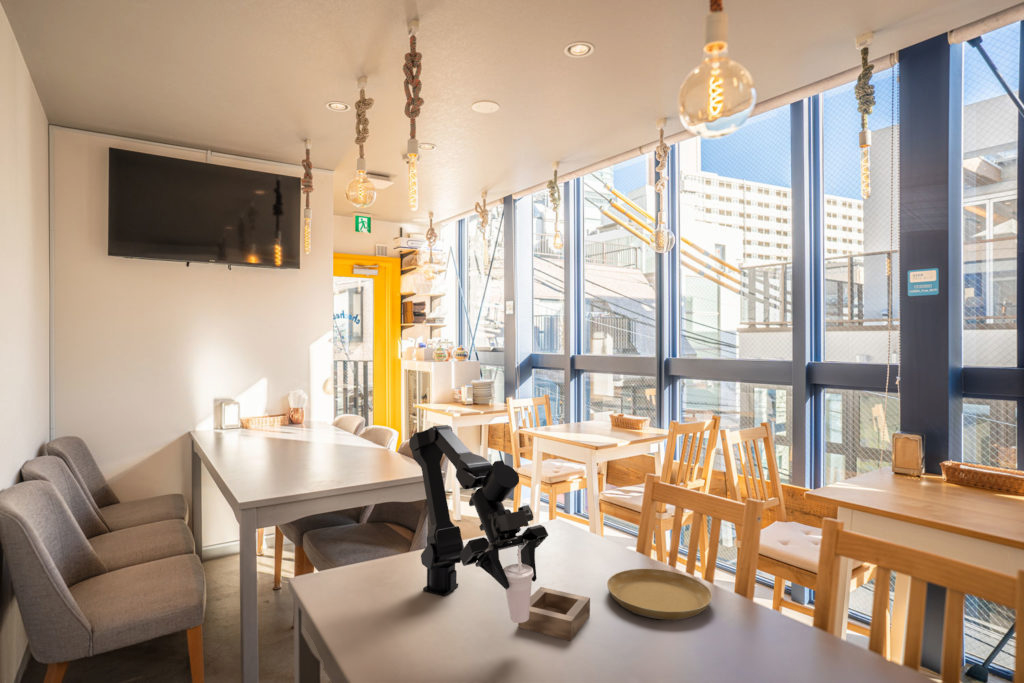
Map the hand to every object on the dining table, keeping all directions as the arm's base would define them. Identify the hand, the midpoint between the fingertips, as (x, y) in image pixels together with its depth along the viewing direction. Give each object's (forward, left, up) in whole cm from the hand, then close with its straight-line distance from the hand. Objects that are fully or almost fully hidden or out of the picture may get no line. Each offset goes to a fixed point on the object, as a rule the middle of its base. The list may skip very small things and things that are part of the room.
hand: (521, 584), depth 111 cm
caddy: (+1, +14, -13) cm, 20 cm away
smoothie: (-1, +1, -8) cm, 8 cm away
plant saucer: (+19, +35, -14) cm, 43 cm away
